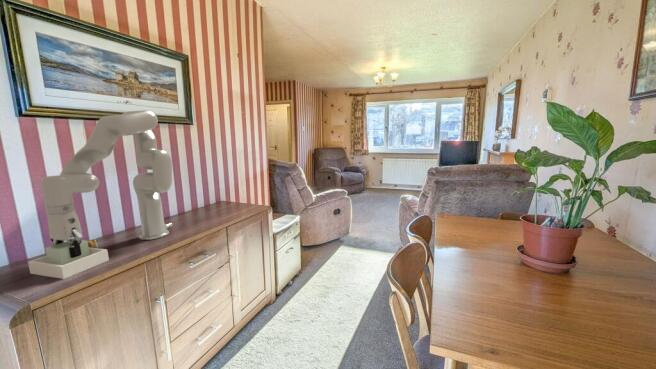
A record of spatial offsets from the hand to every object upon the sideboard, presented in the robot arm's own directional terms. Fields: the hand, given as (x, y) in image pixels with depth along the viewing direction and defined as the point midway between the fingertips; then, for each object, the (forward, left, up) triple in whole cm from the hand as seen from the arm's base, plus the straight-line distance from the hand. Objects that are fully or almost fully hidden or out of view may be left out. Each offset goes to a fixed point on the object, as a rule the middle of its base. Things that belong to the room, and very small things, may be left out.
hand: (68, 255), depth 101 cm
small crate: (0, 0, -1) cm, 1 cm away
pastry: (-14, -13, -5) cm, 20 cm away
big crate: (0, 0, -5) cm, 5 cm away
